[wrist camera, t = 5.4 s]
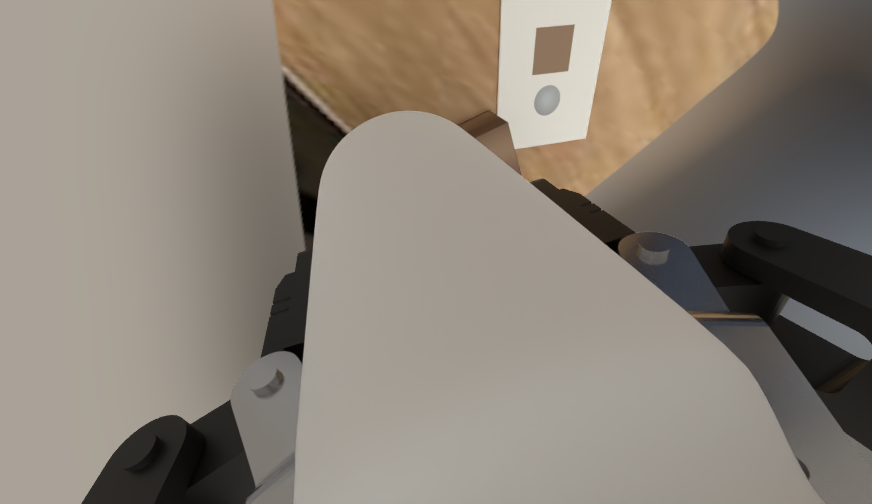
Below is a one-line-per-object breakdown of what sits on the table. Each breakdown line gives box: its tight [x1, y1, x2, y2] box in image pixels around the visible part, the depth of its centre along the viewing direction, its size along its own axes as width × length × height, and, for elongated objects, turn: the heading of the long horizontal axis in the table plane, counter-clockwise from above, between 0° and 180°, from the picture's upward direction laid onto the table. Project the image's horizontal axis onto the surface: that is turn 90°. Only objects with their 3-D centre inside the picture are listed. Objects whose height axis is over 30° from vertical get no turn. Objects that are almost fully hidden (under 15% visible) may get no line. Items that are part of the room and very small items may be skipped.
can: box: [293, 111, 825, 504], centre depth 8 cm, size 6×6×12 cm
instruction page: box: [497, 0, 612, 149], centre depth 27 cm, size 12×9×1 cm
